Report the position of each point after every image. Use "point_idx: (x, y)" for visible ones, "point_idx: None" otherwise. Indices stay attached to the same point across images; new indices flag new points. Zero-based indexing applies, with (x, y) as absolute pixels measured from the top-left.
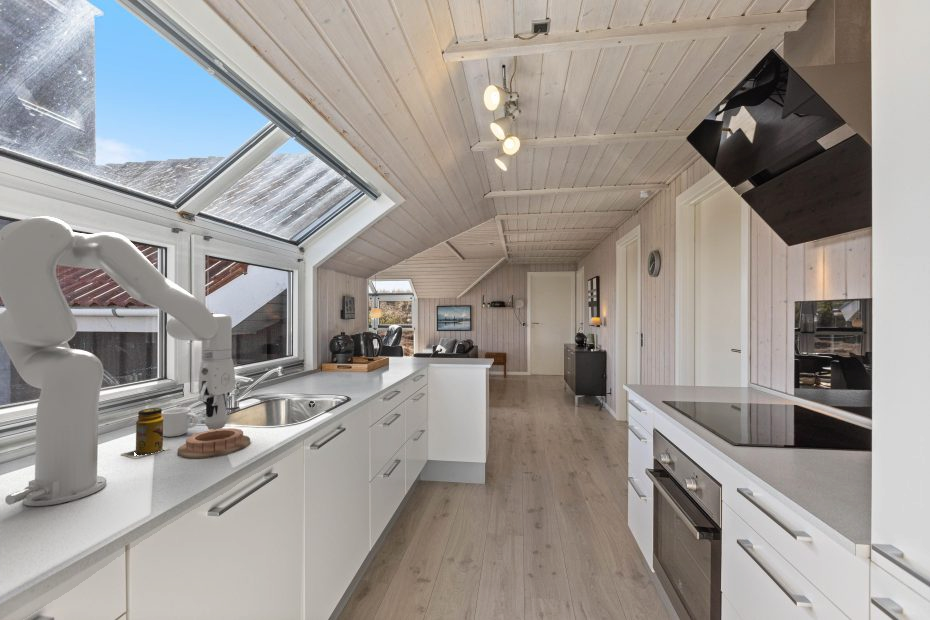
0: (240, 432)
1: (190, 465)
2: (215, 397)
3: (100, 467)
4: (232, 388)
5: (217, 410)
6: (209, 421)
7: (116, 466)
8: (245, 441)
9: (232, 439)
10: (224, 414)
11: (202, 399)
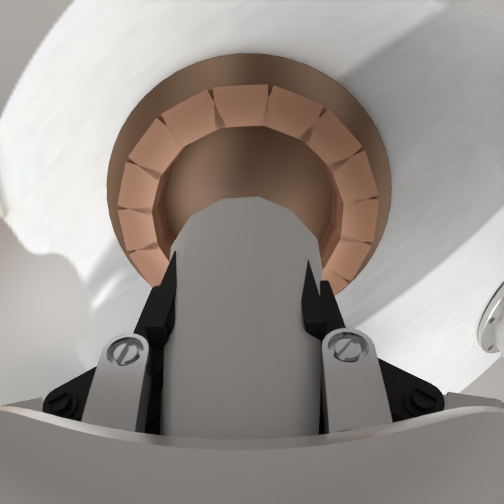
0: (174, 120)
1: (443, 159)
2: (358, 417)
3: (406, 370)
4: (7, 435)
5: (302, 284)
6: (321, 270)
7: (409, 350)
8: (193, 82)
9: (287, 91)
10: (241, 226)
11: (501, 401)
